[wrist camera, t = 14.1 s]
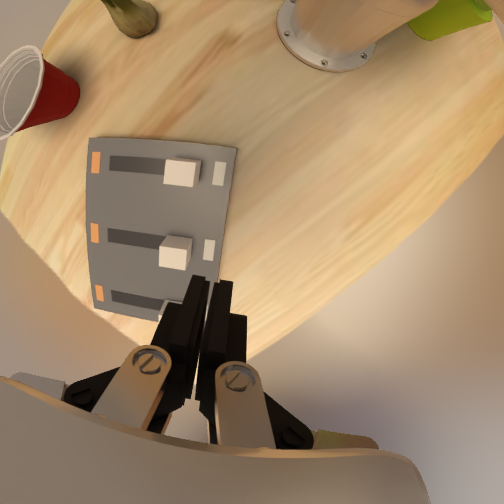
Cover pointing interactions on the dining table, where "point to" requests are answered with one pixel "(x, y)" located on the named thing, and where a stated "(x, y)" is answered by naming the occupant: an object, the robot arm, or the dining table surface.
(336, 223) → the dining table surface
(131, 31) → the fennel bulb
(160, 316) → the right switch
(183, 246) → the switch
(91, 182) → the switch panel
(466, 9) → the soap dispenser
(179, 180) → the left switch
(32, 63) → the plastic cup
